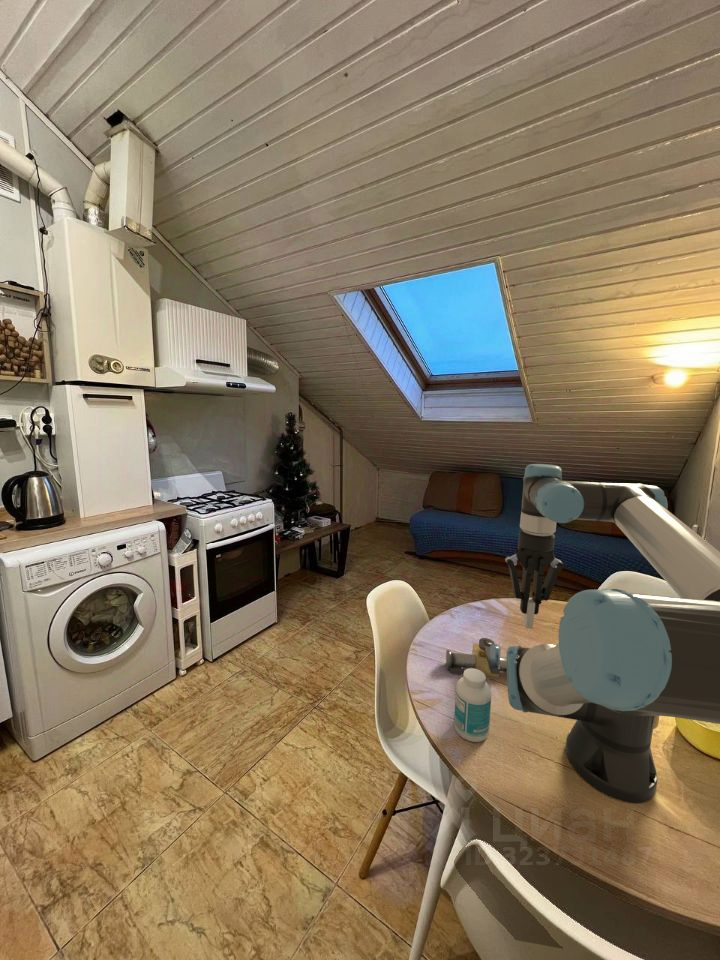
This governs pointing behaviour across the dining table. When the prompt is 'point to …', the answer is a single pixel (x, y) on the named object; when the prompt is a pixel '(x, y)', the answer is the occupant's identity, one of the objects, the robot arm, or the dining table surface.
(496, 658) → the lever
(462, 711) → the pill bottle
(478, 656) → the pipe valve
